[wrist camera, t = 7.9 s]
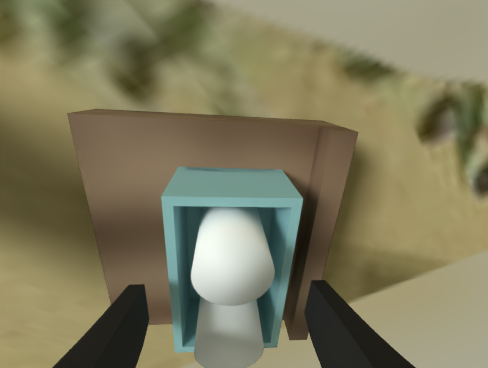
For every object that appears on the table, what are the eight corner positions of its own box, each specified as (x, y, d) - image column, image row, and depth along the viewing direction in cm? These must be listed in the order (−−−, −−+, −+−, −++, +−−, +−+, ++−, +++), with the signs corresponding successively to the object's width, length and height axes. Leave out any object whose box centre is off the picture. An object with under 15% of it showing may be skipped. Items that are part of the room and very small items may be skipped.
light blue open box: (265, 293, 15) (283, 379, 11) (185, 296, 15) (168, 387, 10) (281, 169, 12) (318, 218, 7) (178, 166, 12) (148, 217, 7)
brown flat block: (290, 291, 19) (306, 339, 15) (129, 295, 18) (105, 349, 14) (322, 120, 14) (358, 132, 10) (95, 108, 12) (42, 117, 9)
